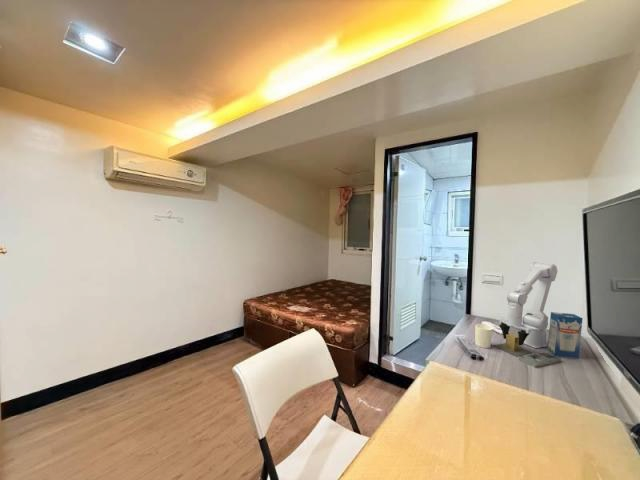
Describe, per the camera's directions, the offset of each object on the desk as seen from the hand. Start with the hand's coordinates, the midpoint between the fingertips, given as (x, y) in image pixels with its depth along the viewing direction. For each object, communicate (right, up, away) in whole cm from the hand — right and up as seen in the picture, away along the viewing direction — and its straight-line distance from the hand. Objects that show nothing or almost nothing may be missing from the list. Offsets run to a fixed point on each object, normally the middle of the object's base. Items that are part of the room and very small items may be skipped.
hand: (513, 341), depth 138 cm
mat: (0, -4, 0) cm, 4 cm away
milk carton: (+22, -5, -3) cm, 23 cm away
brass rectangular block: (0, -4, 0) cm, 4 cm away
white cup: (-13, -4, +4) cm, 14 cm away
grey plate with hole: (+5, -5, -11) cm, 13 cm away
